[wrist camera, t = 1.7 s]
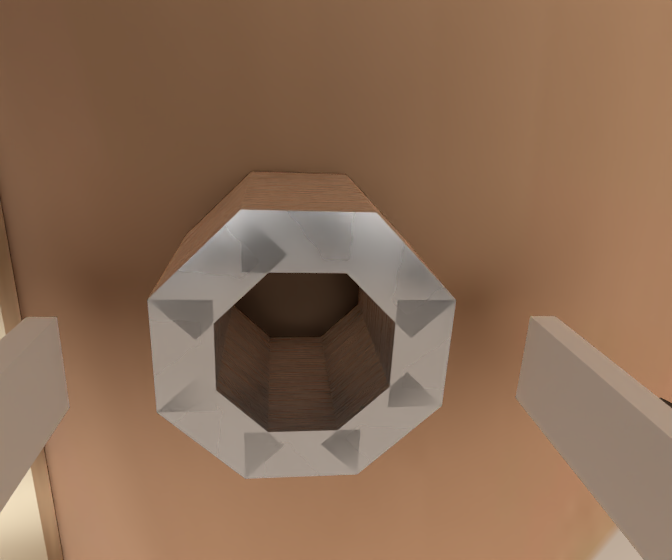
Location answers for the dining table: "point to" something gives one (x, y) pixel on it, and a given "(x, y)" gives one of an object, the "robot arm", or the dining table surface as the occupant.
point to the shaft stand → (34, 490)
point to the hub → (298, 352)
